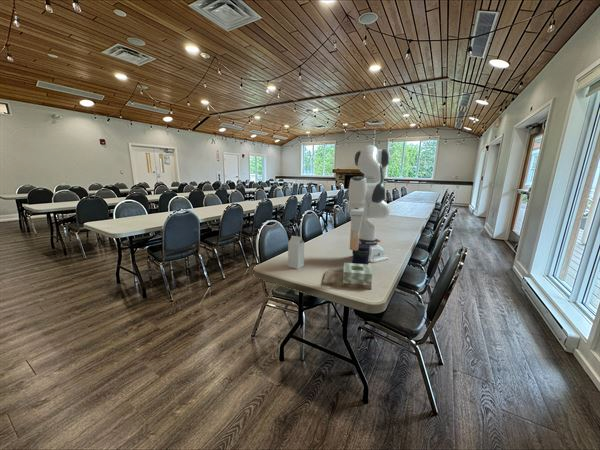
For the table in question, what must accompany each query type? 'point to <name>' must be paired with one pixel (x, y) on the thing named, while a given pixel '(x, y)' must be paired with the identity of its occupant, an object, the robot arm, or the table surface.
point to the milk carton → (296, 252)
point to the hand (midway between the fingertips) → (354, 235)
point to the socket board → (339, 280)
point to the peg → (354, 241)
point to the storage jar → (361, 254)
